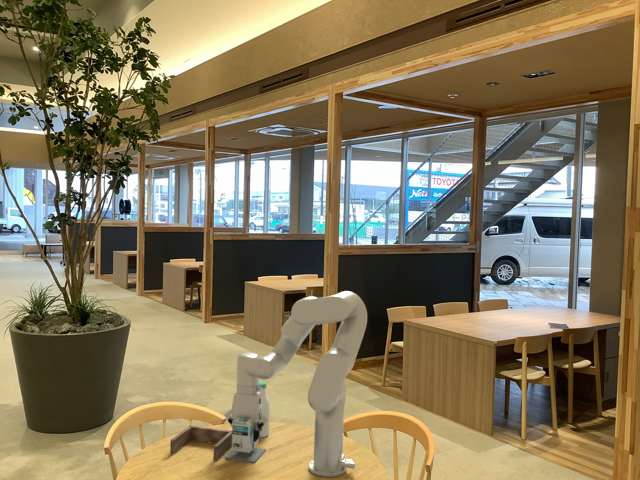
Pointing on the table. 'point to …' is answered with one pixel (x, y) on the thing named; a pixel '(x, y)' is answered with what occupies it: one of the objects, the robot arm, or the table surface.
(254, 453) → the pad
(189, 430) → the cubby
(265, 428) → the milk bottle
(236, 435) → the light bulb box
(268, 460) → the table surface
